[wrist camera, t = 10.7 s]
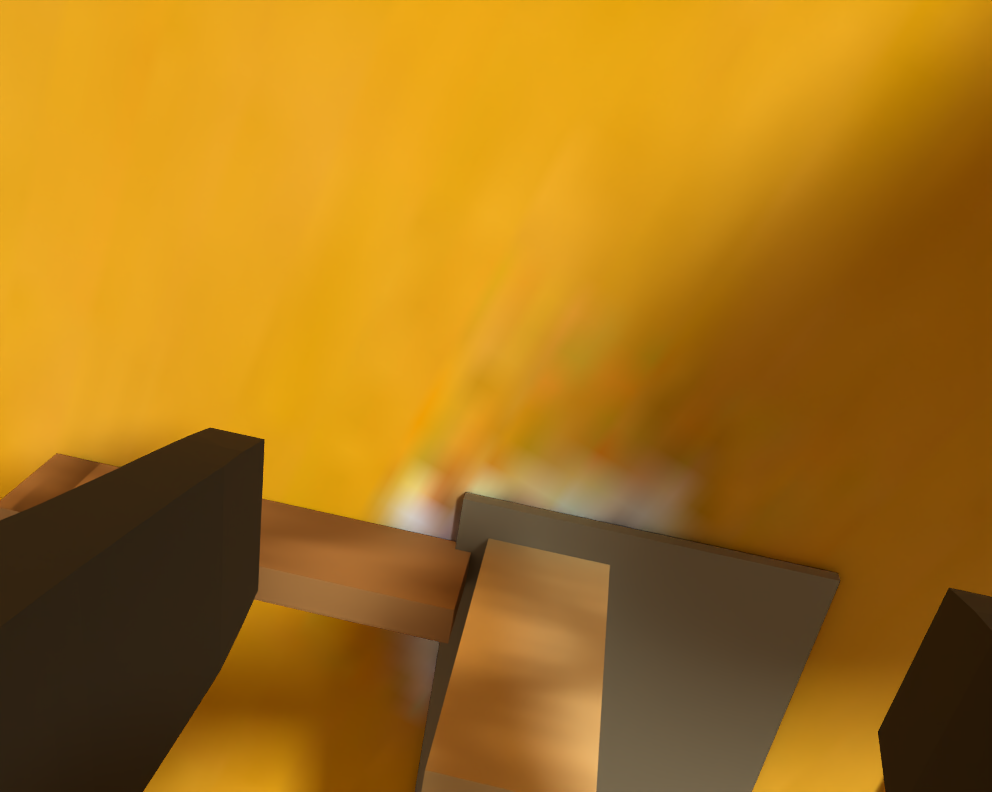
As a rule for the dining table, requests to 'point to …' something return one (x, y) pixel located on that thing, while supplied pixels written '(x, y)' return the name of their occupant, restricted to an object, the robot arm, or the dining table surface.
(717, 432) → the dining table surface
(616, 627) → the mat
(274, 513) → the rack
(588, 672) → the tan wooden block
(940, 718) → the robot arm
